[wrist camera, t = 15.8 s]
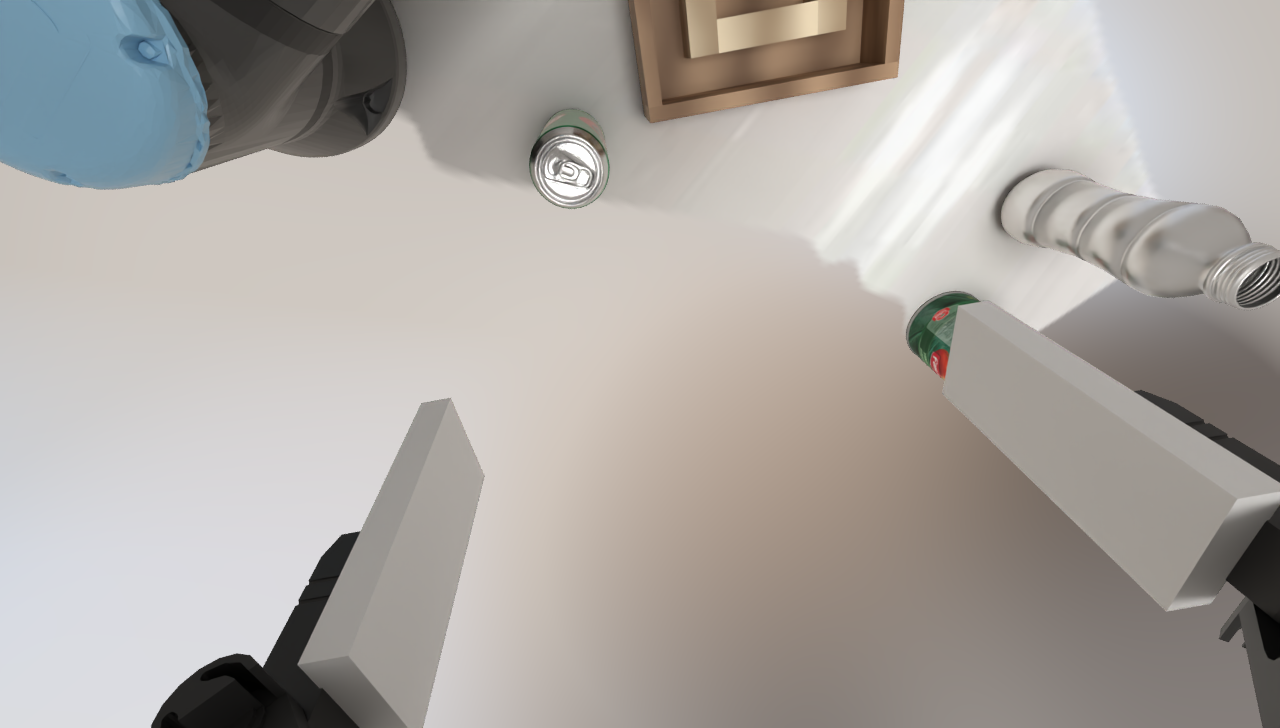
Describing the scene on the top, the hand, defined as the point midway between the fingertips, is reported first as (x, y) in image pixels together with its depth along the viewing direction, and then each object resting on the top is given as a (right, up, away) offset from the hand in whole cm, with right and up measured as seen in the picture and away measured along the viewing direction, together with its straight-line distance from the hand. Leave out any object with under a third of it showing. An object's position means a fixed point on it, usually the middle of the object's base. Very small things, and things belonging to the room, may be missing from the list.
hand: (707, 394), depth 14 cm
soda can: (-7, +19, +29) cm, 35 cm away
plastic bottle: (+34, +16, +35) cm, 51 cm away
